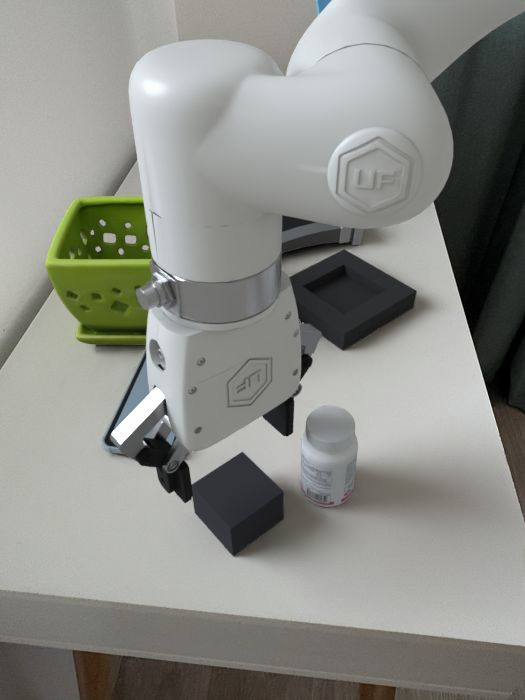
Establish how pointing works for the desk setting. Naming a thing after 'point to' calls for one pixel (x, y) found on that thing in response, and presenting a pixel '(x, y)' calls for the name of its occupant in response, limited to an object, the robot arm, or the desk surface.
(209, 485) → the dark grey square block
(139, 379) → the smartphone
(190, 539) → the desk surface
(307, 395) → the desk surface
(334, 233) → the alarm clock
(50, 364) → the desk surface
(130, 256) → the flower pot
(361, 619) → the desk surface
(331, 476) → the pill bottle
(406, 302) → the base pad
